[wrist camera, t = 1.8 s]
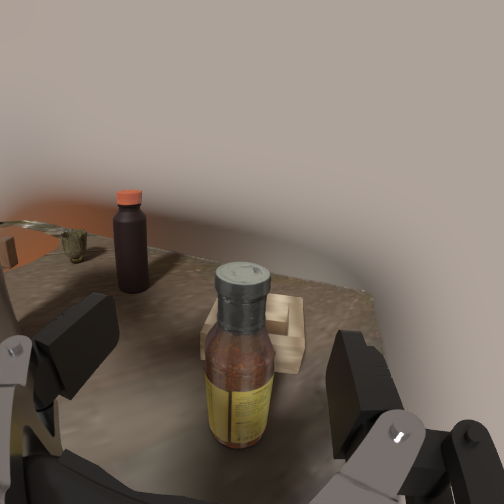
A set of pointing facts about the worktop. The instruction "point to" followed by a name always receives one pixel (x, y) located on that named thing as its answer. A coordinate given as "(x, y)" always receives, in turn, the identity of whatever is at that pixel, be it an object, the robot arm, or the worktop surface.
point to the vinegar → (131, 242)
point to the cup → (74, 244)
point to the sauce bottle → (239, 356)
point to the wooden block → (8, 252)
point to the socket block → (275, 331)
